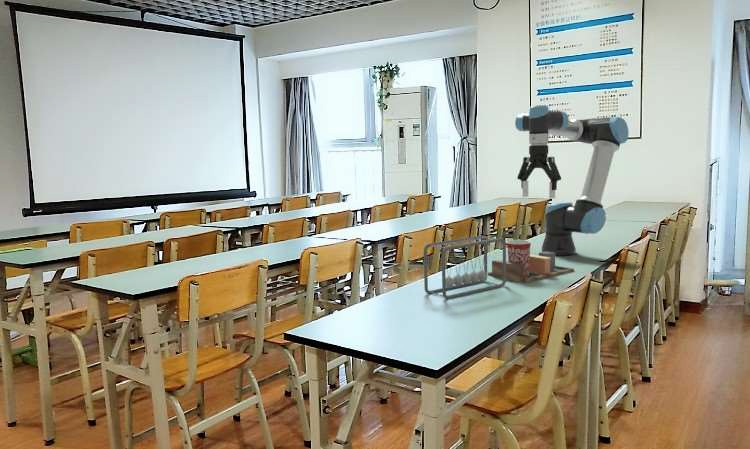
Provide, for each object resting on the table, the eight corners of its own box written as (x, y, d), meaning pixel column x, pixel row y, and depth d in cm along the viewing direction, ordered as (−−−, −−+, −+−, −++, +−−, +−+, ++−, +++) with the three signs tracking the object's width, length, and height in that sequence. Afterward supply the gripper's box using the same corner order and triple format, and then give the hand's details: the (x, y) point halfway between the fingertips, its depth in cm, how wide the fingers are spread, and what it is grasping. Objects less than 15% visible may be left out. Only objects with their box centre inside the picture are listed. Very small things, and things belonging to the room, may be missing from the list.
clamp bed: (537, 264, 249) (537, 250, 249) (573, 271, 234) (573, 256, 234) (488, 275, 233) (487, 260, 232) (524, 282, 218) (524, 266, 217)
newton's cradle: (444, 300, 197) (443, 247, 195) (424, 294, 206) (422, 244, 204) (506, 286, 214) (506, 237, 212) (485, 281, 223) (485, 234, 221)
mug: (524, 280, 223) (524, 244, 221) (502, 277, 229) (502, 242, 227) (539, 273, 232) (539, 239, 230) (518, 271, 238) (518, 238, 236)
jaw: (521, 268, 241) (521, 252, 240) (550, 274, 229) (550, 257, 229) (516, 270, 239) (516, 254, 238) (545, 275, 228) (545, 258, 227)
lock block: (538, 269, 240) (538, 252, 239) (546, 268, 242) (546, 251, 241) (547, 271, 236) (547, 254, 235) (555, 269, 239) (555, 252, 238)
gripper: (508, 145, 247) (508, 196, 249) (558, 144, 226) (558, 199, 229) (520, 145, 251) (521, 195, 254) (570, 143, 231) (570, 198, 233)
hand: (538, 197), depth 241 cm, fingers open, 13 cm apart
